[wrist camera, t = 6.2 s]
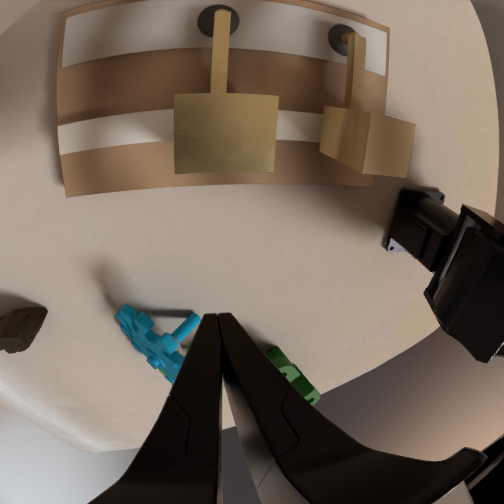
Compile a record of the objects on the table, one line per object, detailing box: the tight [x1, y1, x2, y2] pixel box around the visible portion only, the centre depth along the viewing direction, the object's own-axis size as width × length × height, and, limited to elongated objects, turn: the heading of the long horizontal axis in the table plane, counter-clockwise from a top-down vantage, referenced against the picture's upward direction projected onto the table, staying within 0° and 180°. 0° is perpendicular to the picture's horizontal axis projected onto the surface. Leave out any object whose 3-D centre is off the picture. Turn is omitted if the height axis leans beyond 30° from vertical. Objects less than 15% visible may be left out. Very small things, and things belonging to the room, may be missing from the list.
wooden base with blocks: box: [57, 0, 416, 198], centre depth 12 cm, size 22×13×8 cm, turn 87°
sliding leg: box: [174, 9, 279, 174], centre depth 11 cm, size 4×8×6 cm, turn 177°
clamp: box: [266, 346, 320, 405], centre depth 28 cm, size 12×6×9 cm, turn 24°
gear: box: [115, 304, 201, 386], centre depth 22 cm, size 11×6×10 cm
